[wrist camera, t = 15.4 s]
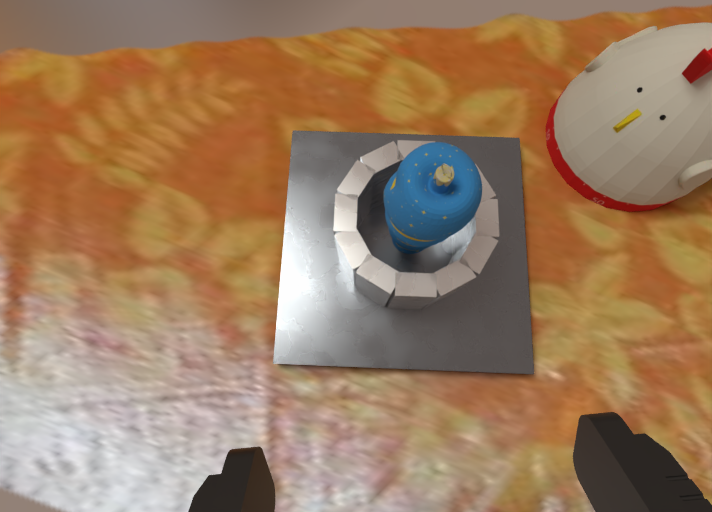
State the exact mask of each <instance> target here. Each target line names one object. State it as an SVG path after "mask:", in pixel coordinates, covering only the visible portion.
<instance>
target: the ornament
mask: <svg viewBox="0 0 712 512" xmlns="http://www.w3.org/2000/svg"><path fill="white" fill-rule="evenodd" d="M481 198H482V181H481V176H480V174H479V171H478V168H477V167H476V165H475V163H474V162H473V160H472V159H471V158H470V157H469V156H468V155H467V154H466V153H465V152H464V151H462V150H461V149H460V148H458V147H456V146H454V145H451V144H448V143H443V142H431V143H427V144H423V145H421V146H420V147H418V148H416V149H414V150H413V151H412V152H410V153H409V154H408V155H407V156H406V157H405V158H404V159H403V161H402V162H401V164H400V166H399V168H398V171H397V172H395V173H394V174H393V175H392V177H391V178H390V179H389V181H388V183H387V184H386V186H385V189H384V206H385V218H386V222H387V225H388V229H389V233H390V235H391V237H392V242H393V244H394V246H395V247H396V248H397V249H398V250H399V251H401V252H403V253H406V254H415V253H418V252H421V251H423V250H424V249H426V248H428V247H430V246H432V245H436V244H438V243H440V242H442V241H444V240H445V239H447V238H448V237H450V236H451V235H453V234H455V233H457V232H458V231H460V230H461V229H463V228H464V227H465V226H466V225H467V224H468V223H469V222H470V221H471V220H472V218H473V217H474V215H475V214H476V212H477V210H478V207H479V205H480V202H481Z"/></svg>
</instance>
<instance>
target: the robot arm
mask: <svg viewBox="0 0 712 512" xmlns="http://www.w3.org/2000/svg"><path fill="white" fill-rule="evenodd" d="M573 462H574V467H575V471H576V474H577V477H578V479H579V481H580V484H581V485H582V487H583V489H584V491H585V493H586V495H587V497H588V499H589V500H590V502H591V504H592V506H593V508H594V510H595V512H712V505H711V504H710V502H709V501H708V500H707V499H705V498H704V497H703V493H702V492H701V491H700V490H699V488H698V487H697V486H696V485H695V483H694V482H693V481H692V480H691V479H689V478H688V476H687V473H686V472H685V471H684V470H683V468H682V467H681V466H680V465H679V463H678V462H677V461H676V460H675V458H674V457H673V456H672V455H671V453H670V452H669V451H668V450H666V449H665V448H664V447H662V446H661V445H660V444H658V443H657V442H656V441H654V440H653V439H652V438H650V437H649V436H648V435H646V434H635V435H634V434H633V433H632V431H631V430H630V429H629V427H628V426H627V425H626V423H625V422H624V421H623V419H622V418H621V417H620V416H619V415H618V414H617V413H615V412H608V413H598V414H588V415H581V416H580V418H579V422H578V428H577V434H576V440H575V446H574V452H573ZM274 510H275V487H274V482H273V479H272V476H271V473H270V471H269V468H268V465H267V462H266V459H265V456H264V453H263V450H262V448H261V447H251V448H241V449H232V450H230V451H229V452H228V454H227V457H226V460H225V463H224V466H223V470H222V473H221V474H216V475H209V476H208V477H207V479H206V480H205V481H204V483H203V484H202V486H201V487H200V488H199V490H198V491H197V493H196V494H195V495H194V497H193V500H192V503H191V506H190V509H189V511H188V512H274Z"/></svg>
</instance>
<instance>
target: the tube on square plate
mask: <svg viewBox="0 0 712 512" xmlns="http://www.w3.org/2000/svg"><path fill="white" fill-rule="evenodd" d="M431 142H443V143H448V144H451V145H454V146H456V147H458V148H460V149H461V150H462V151H464V152H465V153H466V154H467V155H468V156H469V157H470V158H471V159H472V160H473V162H474V163H475V165H476V167H477V168H478V171H479V174H480V176H481V181H482V198H481V202H480V205H479V207H478V210H477V212H476V214H475V215H474V217H473V218H472V220H471V221H470V222H469V223H468V224H467V225H466V226H465V227H464V228H463V229H461V230H460V231H458V232H457V233H455V234H453V235H451V236H450V237H448V238H447V239H445V240H444V241H442V242H440V243H438V244H436V245H432V246H430V247H428V248H426V249H424V250H423V251H421V252H418V253H415V254H406V253H403V252H401V251H399V250H398V249H397V248H396V247H395V246H394V244H393V242H392V237H391V235H390V233H389V229H388V225H387V222H386V218H385V206H384V189H385V186H386V184H387V183H388V181H389V179H390V178H391V177H392V175H393V174H394V173H395V172H397V171H398V168H399V166H400V164H401V162H402V161H403V159H404V158H405V157H406V156H407V155H408V154H409V153H410V152H412V151H413V150H414V149H416V148H418V147H420V146H421V145H423V144H427V143H431ZM273 364H295V365H319V366H344V367H369V368H394V369H418V370H443V371H468V372H492V373H517V374H534V364H533V348H532V332H531V316H530V300H529V284H528V268H527V252H526V236H525V220H524V204H523V188H522V172H521V156H520V139H519V138H505V137H474V136H444V135H413V134H382V133H351V132H321V131H293V134H292V146H291V158H290V170H289V182H288V193H287V205H286V217H285V229H284V241H283V253H282V265H281V276H280V288H279V300H278V312H277V324H276V336H275V348H274V360H273Z"/></svg>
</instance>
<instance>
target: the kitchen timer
mask: <svg viewBox="0 0 712 512" xmlns="http://www.w3.org/2000/svg"><path fill="white" fill-rule="evenodd" d="M585 69H586V70H584V71H583V72H582V73H580V74H579V75H578V76H577V77H575V78H574V79H573V80H572V81H571V82H570V83H569V85H568V86H567V87H566V89H565V90H564V91H563V92H562V94H561V95H560V96H559V98H558V99H557V101H556V102H555V104H554V105H553V107H552V108H551V110H550V113H549V117H548V120H547V124H546V142H547V148H548V151H549V154H550V156H551V159H552V162H553V164H554V166H555V168H556V169H557V170H558V172H559V173H560V174H561V176H562V177H563V178H564V180H565V181H566V183H567V184H569V185H570V186H571V187H572V188H573V189H575V190H576V191H577V192H578V193H580V194H581V195H582V196H583V197H585V198H587V199H589V200H591V201H593V202H595V203H597V204H600V205H602V206H604V207H606V208H611V209H616V210H622V211H627V212H634V211H646V210H653V209H655V208H658V207H660V206H663V205H666V204H668V203H671V202H673V201H675V200H677V199H679V198H681V197H683V196H685V195H687V194H688V193H690V192H691V191H692V190H694V189H695V188H696V187H698V186H700V185H702V184H704V183H705V182H707V181H708V180H709V179H711V178H712V23H694V24H682V25H676V26H671V27H667V28H664V29H661V30H658V31H657V27H656V26H653V27H649V28H646V29H644V30H642V31H640V32H638V33H636V34H634V35H632V36H630V37H628V38H626V39H624V40H621V41H619V42H613V43H612V44H611V45H610V46H609V47H608V48H606V49H605V50H604V51H603V52H602V53H601V54H600V55H598V56H597V57H596V58H595V59H594V60H593V61H591V62H590V63H589V64H588V65H587V66H586V67H585Z"/></svg>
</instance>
